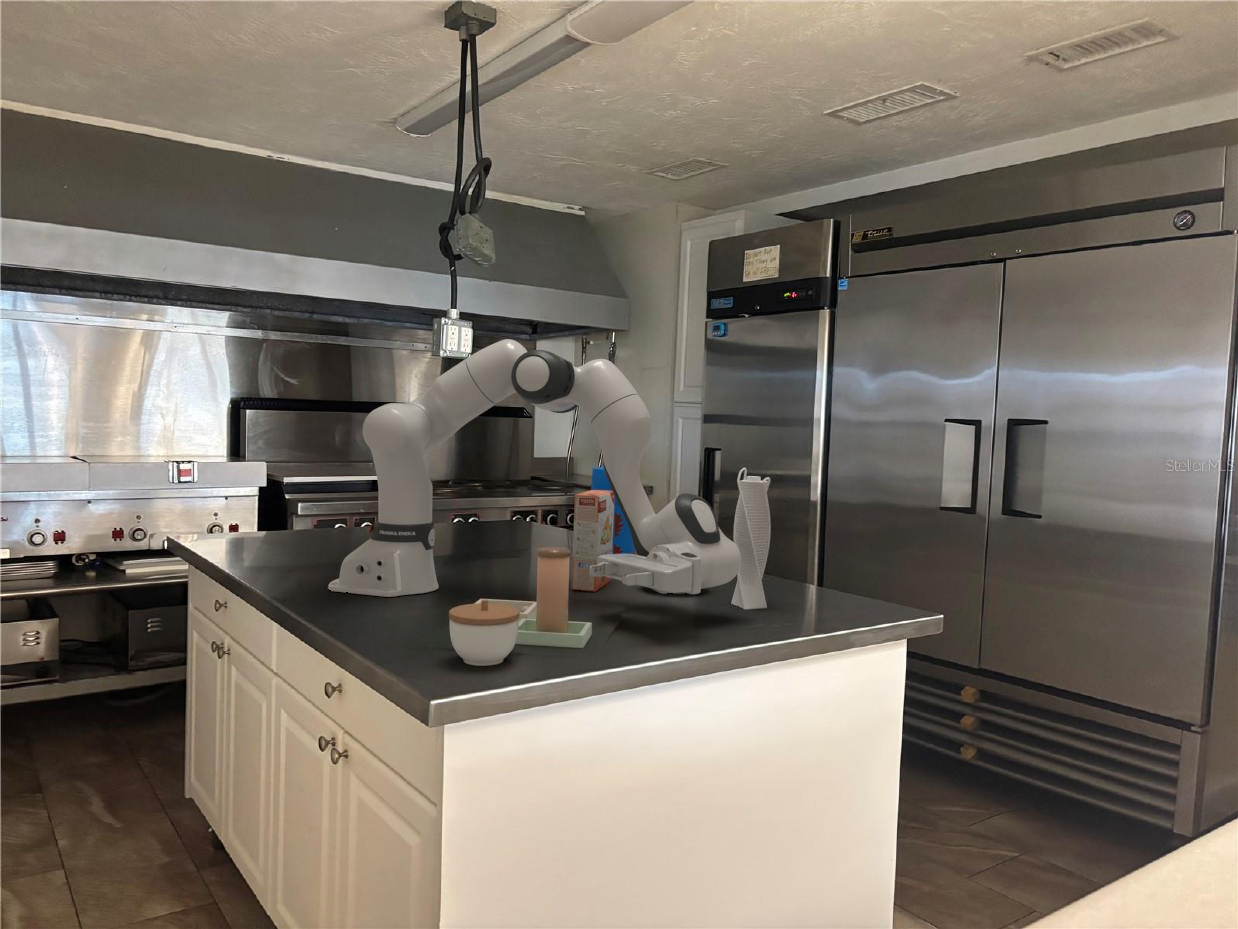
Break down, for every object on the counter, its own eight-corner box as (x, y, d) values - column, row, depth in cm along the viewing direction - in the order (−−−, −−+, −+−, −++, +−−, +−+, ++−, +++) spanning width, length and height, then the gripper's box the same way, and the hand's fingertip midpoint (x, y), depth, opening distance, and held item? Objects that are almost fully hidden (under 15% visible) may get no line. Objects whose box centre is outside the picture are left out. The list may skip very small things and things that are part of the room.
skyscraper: (722, 602, 187) (727, 467, 185) (754, 600, 190) (759, 467, 188) (742, 610, 179) (747, 469, 178) (774, 608, 182) (780, 470, 181)
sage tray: (509, 649, 145) (509, 631, 145) (521, 636, 154) (522, 618, 154) (582, 654, 144) (583, 635, 144) (591, 640, 153) (591, 622, 153)
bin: (400, 626, 159) (401, 606, 158) (420, 614, 168) (420, 595, 168) (526, 634, 156) (527, 614, 156) (538, 620, 166) (539, 602, 166)
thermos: (607, 566, 226) (610, 466, 224) (642, 572, 219) (645, 469, 218) (580, 572, 217) (583, 468, 215) (616, 578, 210) (619, 470, 209)
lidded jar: (440, 654, 142) (441, 595, 141) (506, 648, 146) (507, 591, 146) (458, 673, 132) (459, 609, 131) (528, 666, 136) (529, 605, 136)
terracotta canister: (531, 641, 147) (534, 551, 146) (538, 633, 152) (541, 546, 151) (564, 643, 146) (567, 552, 145) (570, 635, 152) (572, 547, 151)
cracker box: (597, 593, 193) (600, 495, 192) (570, 590, 194) (572, 493, 193) (613, 581, 206) (615, 490, 205) (587, 579, 208) (590, 488, 207)
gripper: (633, 543, 172) (573, 549, 163) (707, 559, 156) (645, 566, 147) (632, 576, 172) (572, 584, 164) (706, 595, 156) (644, 604, 148)
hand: (607, 575), depth 155 cm, fingers open, 8 cm apart
